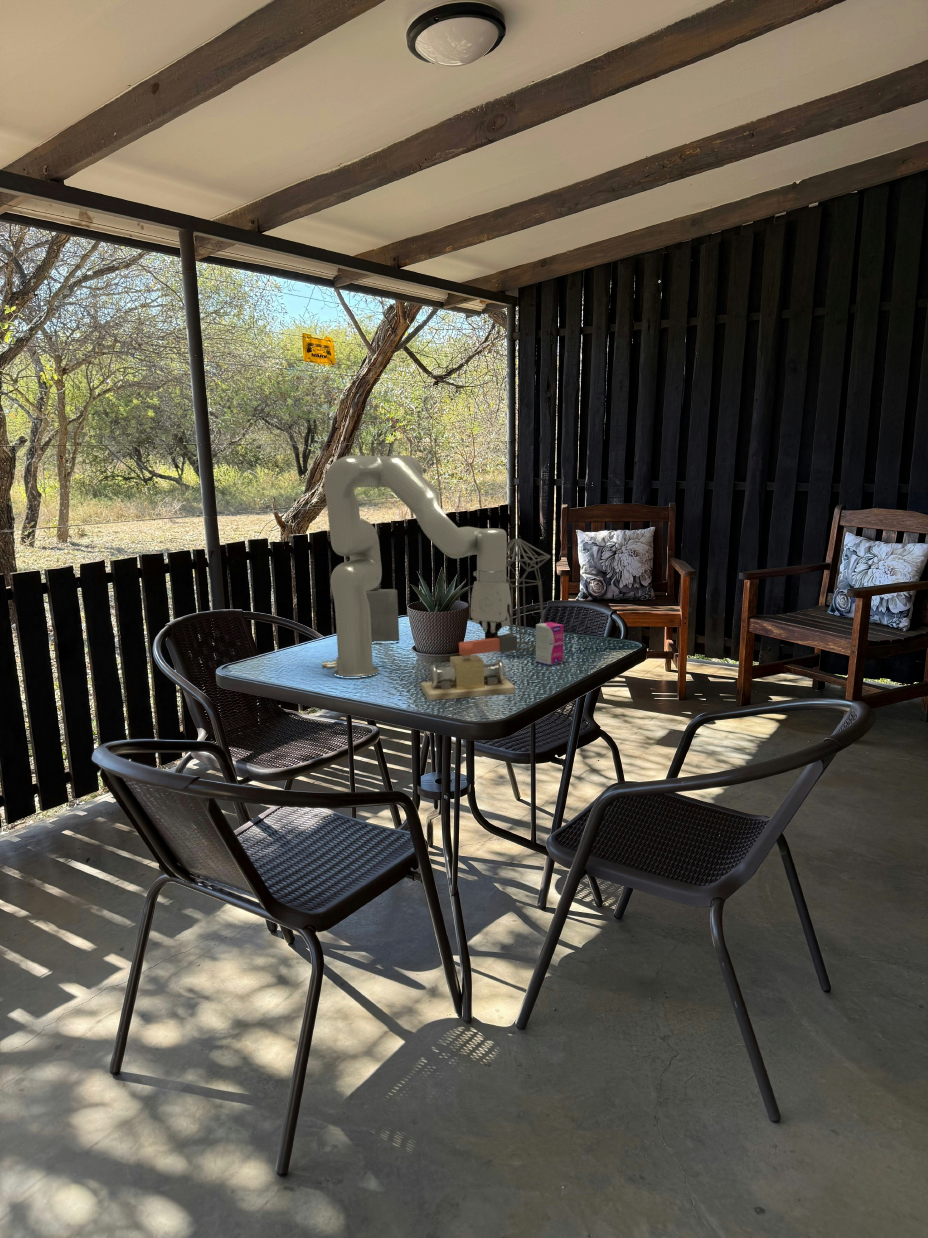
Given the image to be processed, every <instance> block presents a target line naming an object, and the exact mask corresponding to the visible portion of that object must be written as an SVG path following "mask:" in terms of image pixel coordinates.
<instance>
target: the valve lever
mask: <svg viewBox="0 0 928 1238" xmlns="http://www.w3.org/2000/svg"><path fill="white" fill-rule="evenodd" d="M508 634H509V633H508ZM500 635H501V636H499V635H498V636H495V638H489V639H485V638H481V639H475V640H467V641H460V642H458V654H459V656H463V658H465V659H467V658H470V655H479V654H486V653H494V652H499V653H500V652H504V653H506V652H505V651H508V652H512V651H515V650H518V649H517V648H518V644H517V642H518V635H517V636H516V635H515V634H509V635H504V634H500Z"/></svg>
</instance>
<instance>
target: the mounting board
mask: <svg viewBox="0 0 928 1238" xmlns="http://www.w3.org/2000/svg"><path fill="white" fill-rule="evenodd" d="M450 685H451V689H444V690H441V689H440V687H439V686H437V687H432V685H431V681H426V682H425V681H424V682H420V690H421V691H422V692H423V694H424V695H425V697H426V699H427V700H428V701H437V700H439V701H441V700H450V699H462V698H474V697H475V698H476V697H488V696H498V695H499V696H500V695H508V694H509V695H510V694H516V691H517V690H516V686H515V685H514V684H513V683H512V682H511V681H509V680H508V679H507V678H506V677H505V676H504V680H503V682H498V681H497V685H492V686H488V685H487V684H486V683H485V682H484V688H472V689H460V690H457V689H456V688H455V687H454V686H453V684H452V683H450Z"/></svg>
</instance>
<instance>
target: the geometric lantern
mask: <svg viewBox="0 0 928 1238" xmlns="http://www.w3.org/2000/svg"><path fill="white" fill-rule="evenodd" d="M524 550H525V551H526V553H525V551H524ZM533 550H535V551H536V552H538V553H540V554H542V555H539V556H538V555H537V554H536V553H535V552H534V551H533ZM519 555H522V556H523V558H519ZM528 557H529V558H531V559H532V560H530V559H529V558H528ZM551 557H552V556H551V555H550V554H548V553H545V552H544V551H543V550H540V549H538V548H537V547H535V546H533V545H532V544H530V543H528V542H527V541H525V540H523V539H521V538H517V537H516V538H513V539H511V540H510V541H507V554H506V568H507V567H509V568H510V570H511V571H512V572H513V573H514V575H515V576H516V577H517V578H515V579H509V577H508V576H507V575H506V582H508V584H509V588H510V596H511V618H510V633H509V632H508V633H506V634H503V635H509V634H513V635H516V636H517V637H518V636H519V641H517V645H519V646H518V647H517V650H514V651H515V654H510V653H508V652H509V651H505V652H499V653H500V655H506V656H509V657H516V658H517V657H522V656H528V655H531V654H536V639H534V640H528V641H523V639H524V636H525V635H527V636H531V637H535V638H536V634H534V633H529V632H527V621H526V619H527V618H526V589H525V587H527V586H533V585H534V586H535V585H537V586H538V587H537V588H538V596H539V597H538V599H539V609H540V610H539V611H540V621H541V622H540V624H541V623H545V622H544V619H545V617H544V603H543V601H544V600H543V599H544V598H543V583H542V579H541V574H540V573H541V572H540V569H539V568H540V567H541V566H542V565H543V564H544V563H545V562H547V561H548V560H549V559H550V558H551ZM510 558H511V559H510ZM516 559H517V560H516ZM540 561H541V562H540ZM514 562H518V563H519V565H521V567H523V568H524V569H525V572H524V574H523V575H522V577H521V578H520V577H519V576H518V574H517V573H516V572H515V570H514V569H513V567H512V566H511V565H512V563H514ZM523 562H524V563H526V564H524V563H523ZM536 562H538V563H537V564H536ZM529 564H530V565H529ZM532 567H533V568H532ZM531 571H534V573H535V576H536V580H530V579H526V576H527V575H528V573H529V572H531ZM537 571H538V572H537ZM513 581H517V582H516V584H517V585H515V584H512V583H511V582H513ZM521 582H522V584H521ZM525 582H532V583H527V584H525ZM520 587H522V594H523V595H522V599H523V600H522V601H523V602H522V603H523V604H522V605H523V632H522V625H521V609H520V607H521V606H520ZM514 588H516V610H515V611H516V616H515V617H516V618H515V632H514V631H513V630H514V629H513V628H514V627H513V624H514V622H513V621H514V619H513V618H514V617H513V616H514V615H513V614H514V612H513V611H514V610H513V609H514V607H513V605H514V599H513V598H514ZM501 635H502V634H500V635H499V634H498V636H501ZM531 643H535V644H531ZM522 645H526V646H529V647H523V648H521V647H522ZM521 651H529V652H526V653H523V654H522V652H521ZM518 652H519V654H518Z"/></svg>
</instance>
